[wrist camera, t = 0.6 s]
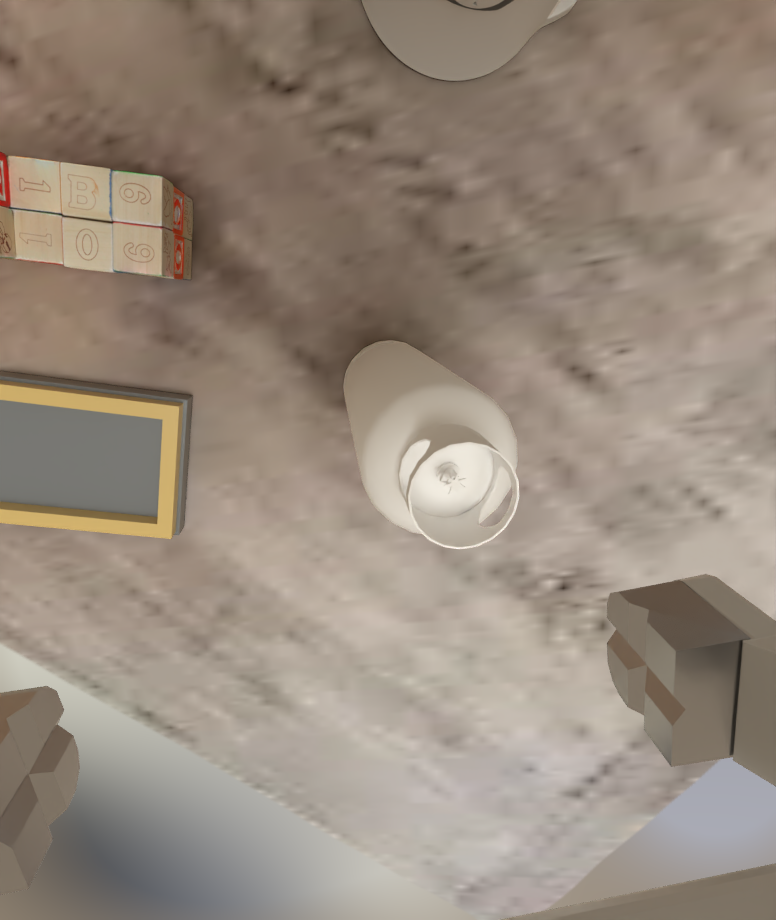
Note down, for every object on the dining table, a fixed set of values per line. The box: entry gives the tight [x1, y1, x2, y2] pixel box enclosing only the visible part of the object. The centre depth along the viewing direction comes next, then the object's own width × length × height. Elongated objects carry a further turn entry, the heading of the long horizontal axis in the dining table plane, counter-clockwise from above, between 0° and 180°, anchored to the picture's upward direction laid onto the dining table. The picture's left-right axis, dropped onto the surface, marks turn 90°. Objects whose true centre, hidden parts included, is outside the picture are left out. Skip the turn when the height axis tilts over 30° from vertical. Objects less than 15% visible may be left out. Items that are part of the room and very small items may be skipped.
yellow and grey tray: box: [0, 371, 193, 539], centre depth 47 cm, size 12×27×4 cm, turn 81°
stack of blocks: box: [0, 152, 193, 280], centre depth 39 cm, size 21×6×12 cm, turn 83°
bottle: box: [343, 340, 519, 549], centre depth 38 cm, size 8×8×28 cm
